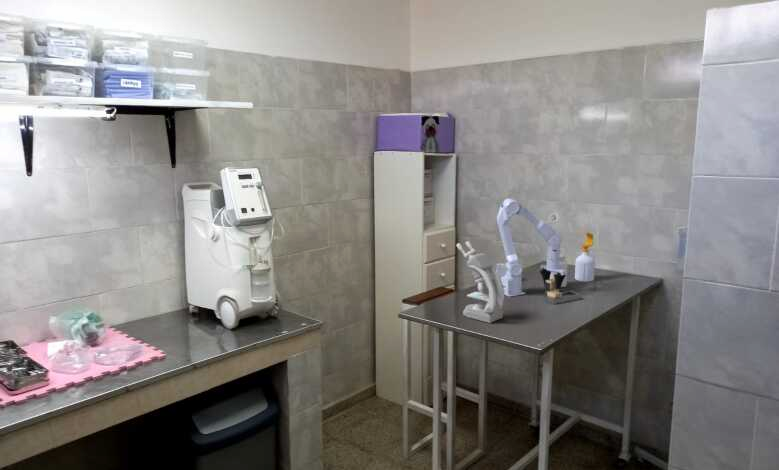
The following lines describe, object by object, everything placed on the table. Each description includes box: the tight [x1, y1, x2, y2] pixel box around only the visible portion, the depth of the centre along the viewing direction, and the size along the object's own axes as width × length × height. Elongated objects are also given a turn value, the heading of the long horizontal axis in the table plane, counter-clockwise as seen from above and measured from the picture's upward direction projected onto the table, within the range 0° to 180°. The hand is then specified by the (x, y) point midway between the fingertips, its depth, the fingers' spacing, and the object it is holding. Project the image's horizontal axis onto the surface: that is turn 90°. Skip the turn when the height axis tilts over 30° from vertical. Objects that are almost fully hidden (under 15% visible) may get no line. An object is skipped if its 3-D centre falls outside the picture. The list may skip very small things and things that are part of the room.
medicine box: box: [495, 263, 508, 279], centre depth 280 cm, size 8×4×9 cm, turn 84°
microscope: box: [455, 240, 505, 324], centre depth 225 cm, size 11×19×30 cm, turn 45°
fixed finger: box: [546, 291, 562, 299], centre depth 245 cm, size 4×5×3 cm
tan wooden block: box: [544, 279, 560, 294], centre depth 258 cm, size 5×4×6 cm, turn 116°
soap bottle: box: [574, 231, 596, 283], centre depth 278 cm, size 9×9×25 cm
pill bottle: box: [550, 254, 568, 288], centre depth 269 cm, size 8×8×15 cm
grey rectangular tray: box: [542, 290, 583, 305], centre depth 247 cm, size 16×7×2 cm, turn 116°
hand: (552, 287), depth 258 cm, fingers open, 7 cm apart
